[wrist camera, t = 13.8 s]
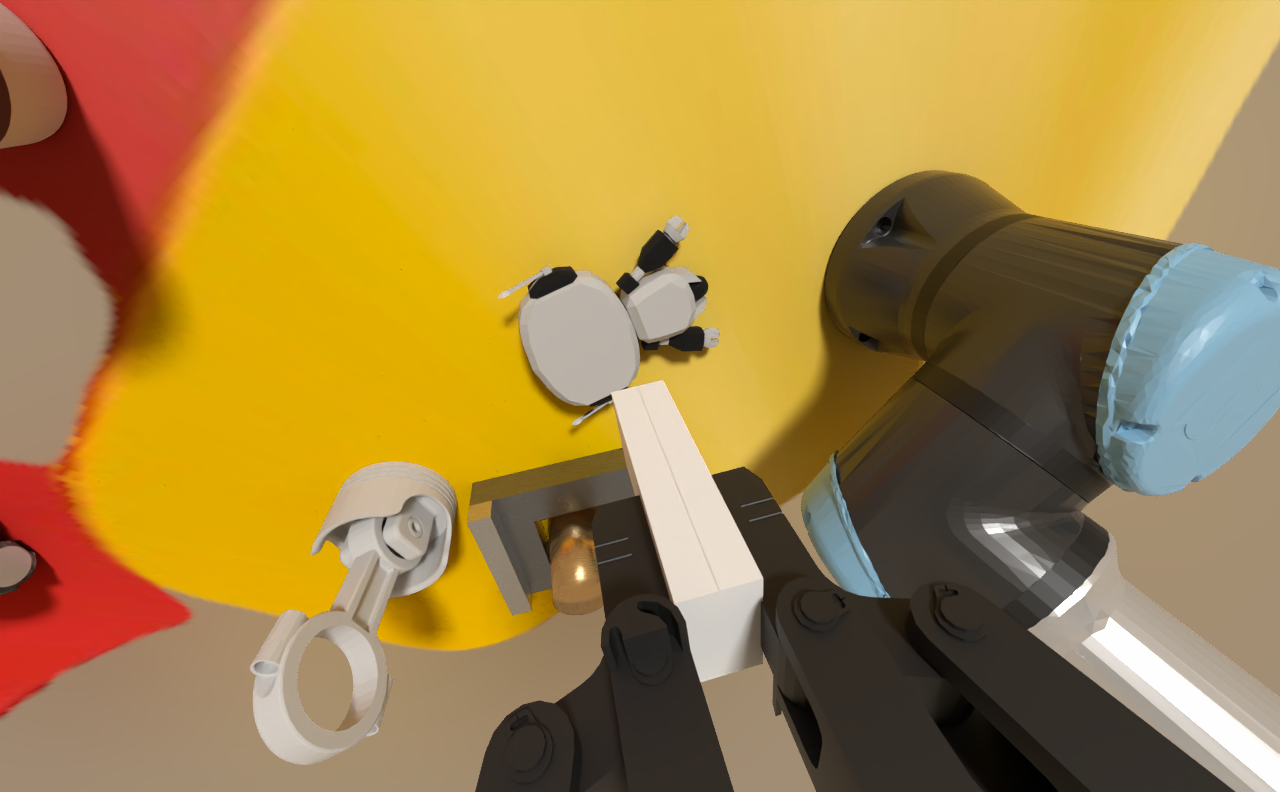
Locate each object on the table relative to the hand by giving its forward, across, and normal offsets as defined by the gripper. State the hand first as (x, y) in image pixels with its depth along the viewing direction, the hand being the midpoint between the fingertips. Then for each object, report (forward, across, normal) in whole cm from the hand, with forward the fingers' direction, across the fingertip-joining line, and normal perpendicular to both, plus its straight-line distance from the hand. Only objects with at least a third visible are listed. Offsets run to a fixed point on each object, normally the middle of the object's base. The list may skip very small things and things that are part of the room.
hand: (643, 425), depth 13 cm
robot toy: (+25, -2, +6) cm, 26 cm away
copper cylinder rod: (+24, +6, +27) cm, 37 cm away
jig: (+24, +6, +27) cm, 37 cm away
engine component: (+25, +21, +20) cm, 38 cm away
